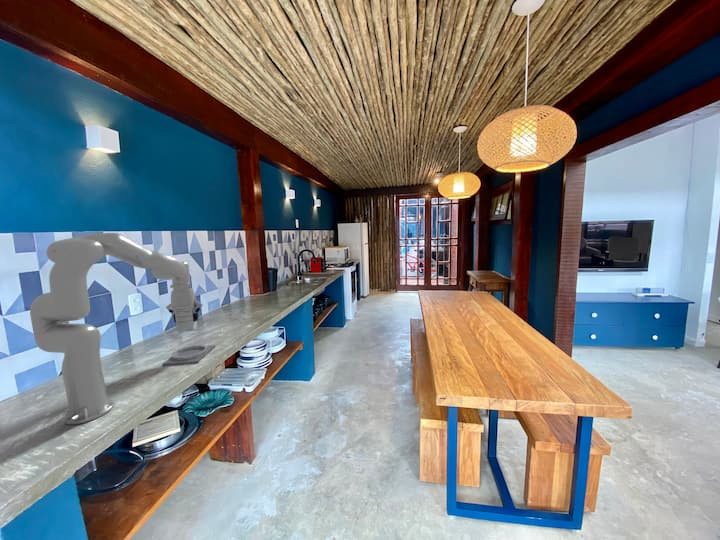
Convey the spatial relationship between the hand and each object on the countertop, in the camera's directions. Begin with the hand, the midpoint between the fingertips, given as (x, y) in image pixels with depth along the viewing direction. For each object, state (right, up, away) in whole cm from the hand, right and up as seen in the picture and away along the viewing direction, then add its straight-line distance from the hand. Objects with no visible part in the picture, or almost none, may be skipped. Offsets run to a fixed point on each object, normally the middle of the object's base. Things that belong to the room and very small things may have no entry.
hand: (186, 321), depth 141 cm
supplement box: (0, -4, +1) cm, 4 cm away
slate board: (+1, -18, +2) cm, 18 cm away
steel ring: (+1, -18, +2) cm, 18 cm away
